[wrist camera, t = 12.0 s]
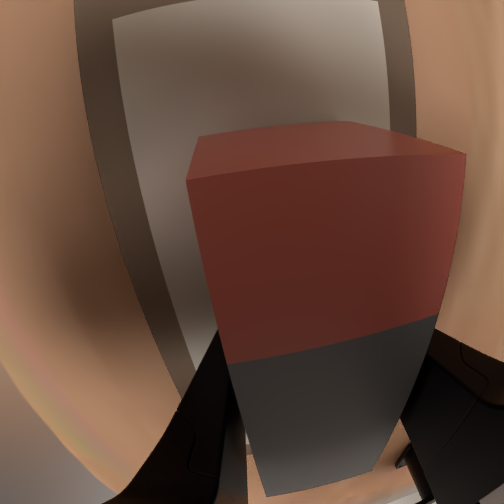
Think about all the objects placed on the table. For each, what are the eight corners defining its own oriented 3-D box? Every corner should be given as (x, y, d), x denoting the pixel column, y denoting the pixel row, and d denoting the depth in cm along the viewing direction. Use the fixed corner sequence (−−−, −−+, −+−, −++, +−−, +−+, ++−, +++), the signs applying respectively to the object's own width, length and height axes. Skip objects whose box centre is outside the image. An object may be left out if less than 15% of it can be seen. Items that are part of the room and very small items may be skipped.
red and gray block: (338, 387, 13) (371, 470, 9) (250, 406, 13) (266, 497, 9) (349, 120, 8) (466, 153, 4) (198, 136, 7) (185, 180, 3)
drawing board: (361, 415, 18) (367, 429, 17) (213, 446, 17) (214, 461, 16) (381, -32, 7) (398, -42, 6) (84, -11, 6) (71, -21, 5)
